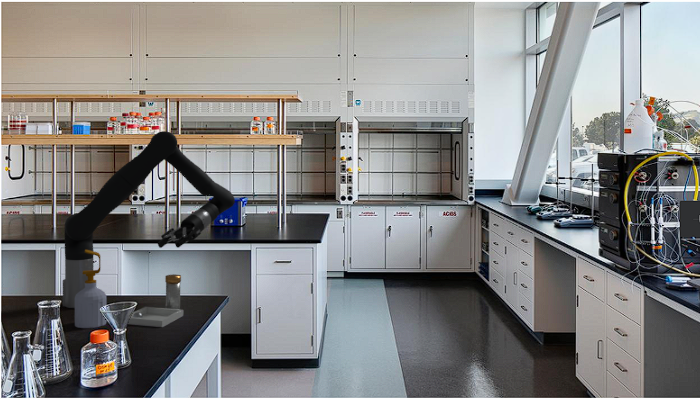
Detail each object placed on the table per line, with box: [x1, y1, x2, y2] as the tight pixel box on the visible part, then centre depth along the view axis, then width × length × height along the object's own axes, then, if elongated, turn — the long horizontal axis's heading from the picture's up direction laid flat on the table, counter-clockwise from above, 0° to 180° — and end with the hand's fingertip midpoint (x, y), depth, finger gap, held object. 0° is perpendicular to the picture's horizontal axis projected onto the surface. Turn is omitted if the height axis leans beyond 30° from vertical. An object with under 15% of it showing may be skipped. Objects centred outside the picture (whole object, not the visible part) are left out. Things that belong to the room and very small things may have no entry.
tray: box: [127, 306, 184, 328], centre depth 188 cm, size 14×14×3 cm
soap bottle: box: [74, 250, 107, 329], centre depth 181 cm, size 9×9×25 cm
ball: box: [133, 312, 143, 318], centre depth 186 cm, size 3×3×3 cm
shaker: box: [164, 274, 182, 310], centre depth 201 cm, size 5×5×13 cm
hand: (167, 245), depth 201 cm, fingers open, 8 cm apart
